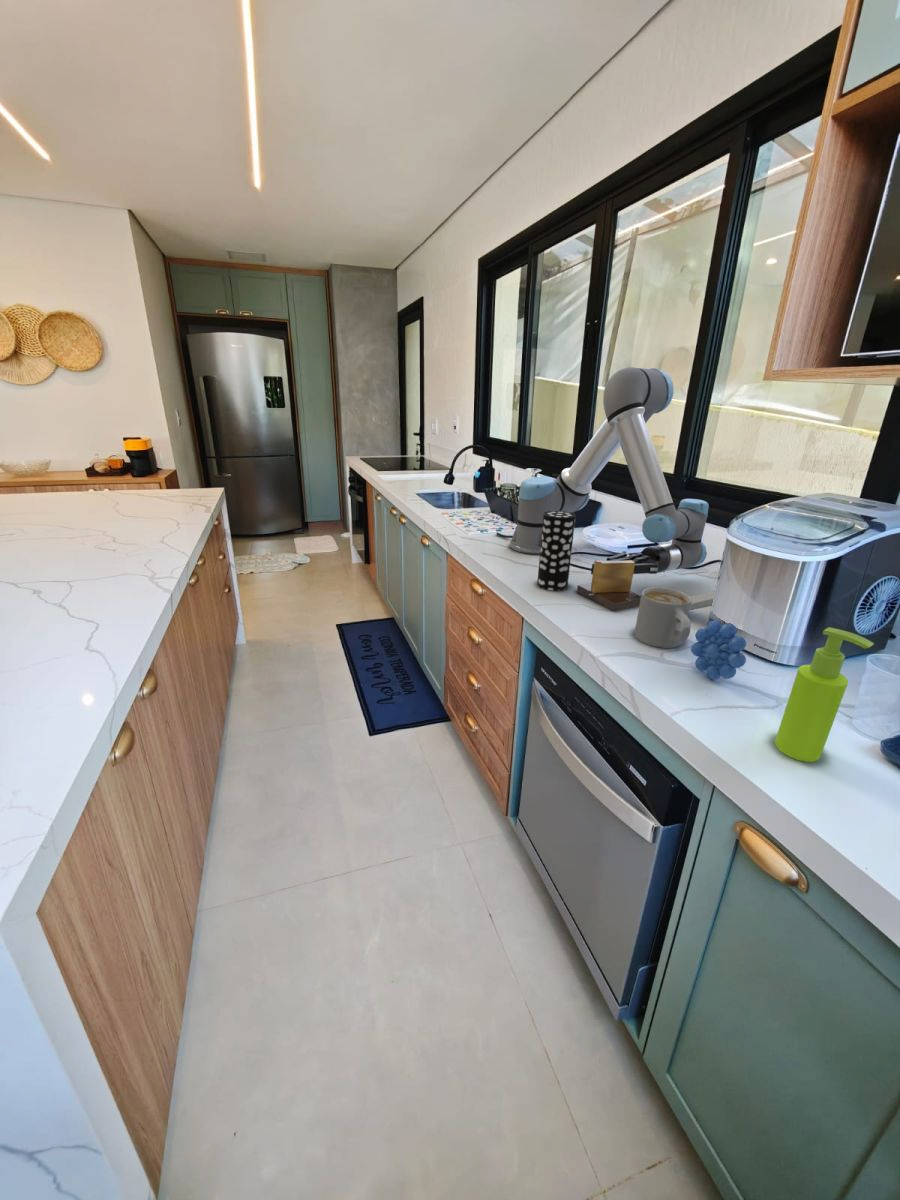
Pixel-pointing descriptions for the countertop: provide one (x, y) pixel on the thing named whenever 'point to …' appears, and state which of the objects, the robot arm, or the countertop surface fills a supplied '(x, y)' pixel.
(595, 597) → the dark brown flat slab
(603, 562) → the golden brown rectangular block
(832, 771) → the countertop surface
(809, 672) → the soap dispenser
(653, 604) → the coffee mug
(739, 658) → the blue bumpy cluster
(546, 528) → the white-spotted black cylinder
